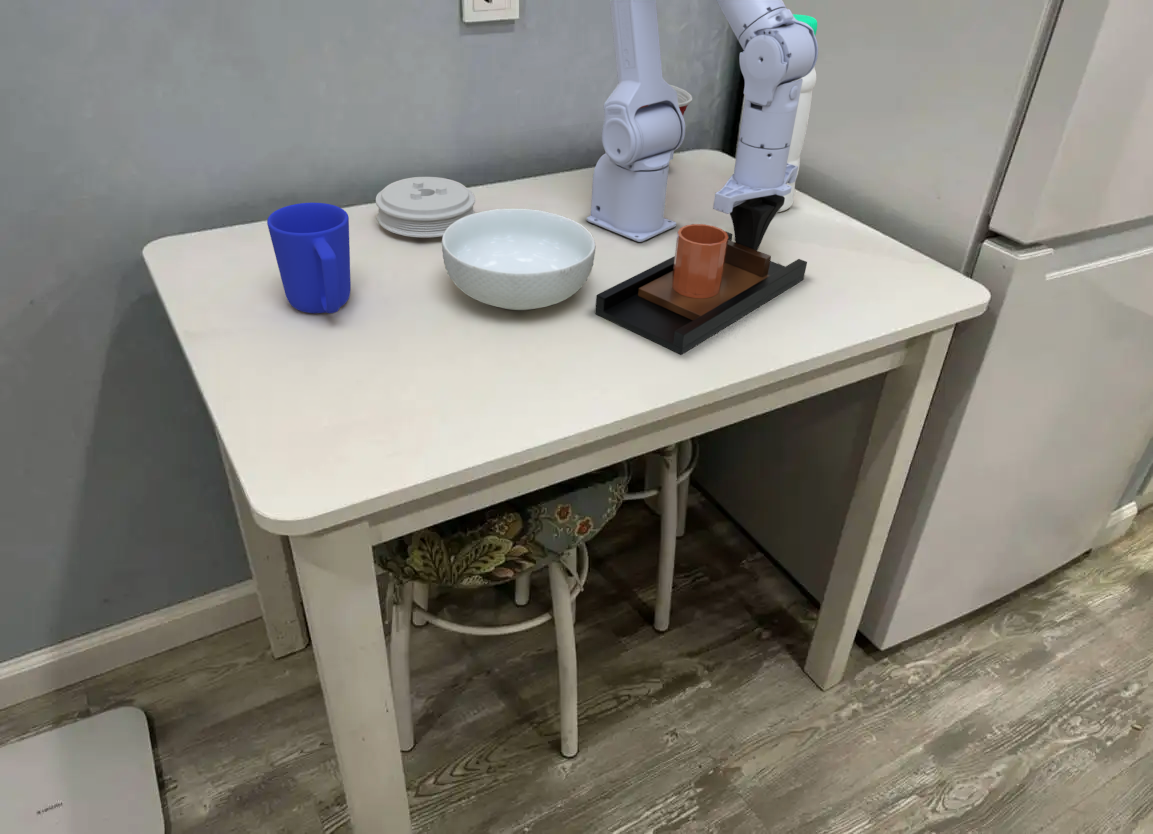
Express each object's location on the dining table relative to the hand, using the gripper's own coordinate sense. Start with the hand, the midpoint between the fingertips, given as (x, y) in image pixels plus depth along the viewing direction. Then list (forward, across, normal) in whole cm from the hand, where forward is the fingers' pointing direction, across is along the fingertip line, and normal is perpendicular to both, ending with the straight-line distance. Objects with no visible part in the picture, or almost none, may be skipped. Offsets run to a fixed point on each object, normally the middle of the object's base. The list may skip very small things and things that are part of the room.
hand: (745, 252), depth 107 cm
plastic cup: (+3, +20, +30) cm, 36 cm away
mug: (+3, -42, +27) cm, 50 cm away
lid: (+3, -18, +37) cm, 41 cm away
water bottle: (+3, +22, +10) cm, 24 cm away
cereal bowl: (+3, -24, +15) cm, 28 cm away
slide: (+2, -8, 0) cm, 8 cm away
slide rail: (+3, -8, 0) cm, 9 cm away
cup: (+1, -10, 0) cm, 10 cm away
